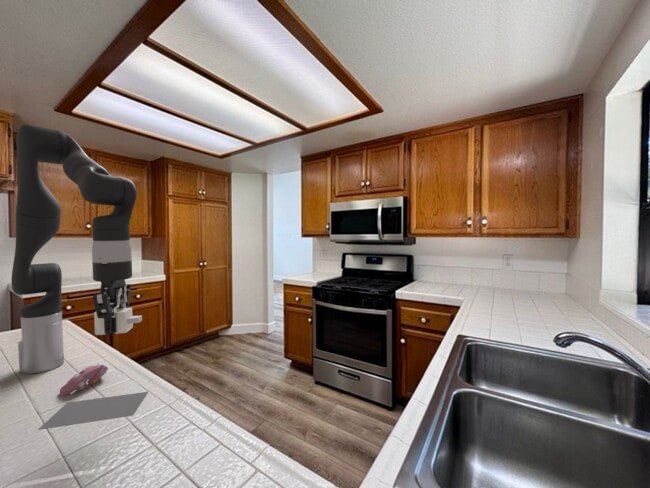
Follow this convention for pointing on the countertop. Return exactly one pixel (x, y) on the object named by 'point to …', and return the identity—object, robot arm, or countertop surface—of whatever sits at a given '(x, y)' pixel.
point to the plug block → (118, 321)
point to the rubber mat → (95, 410)
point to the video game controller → (84, 379)
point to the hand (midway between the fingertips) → (115, 330)
